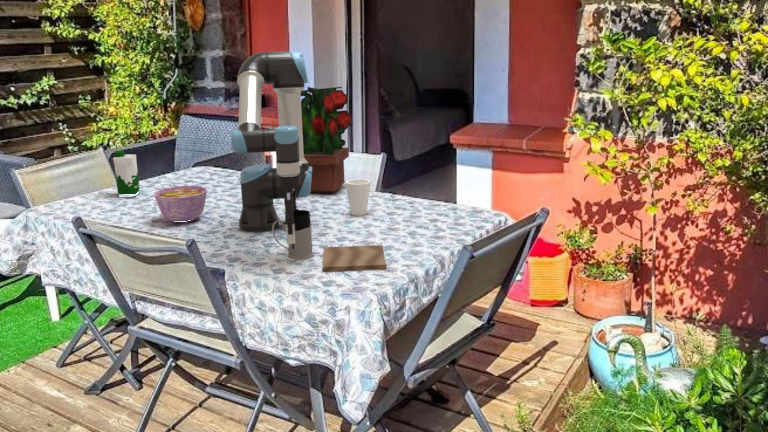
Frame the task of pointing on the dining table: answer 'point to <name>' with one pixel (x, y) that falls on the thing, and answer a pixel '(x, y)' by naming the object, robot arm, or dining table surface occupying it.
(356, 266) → the walnut board
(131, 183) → the mojito glass
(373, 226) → the dining table surface
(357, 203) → the foam cup
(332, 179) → the potted plant
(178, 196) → the bowl of food
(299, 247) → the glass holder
